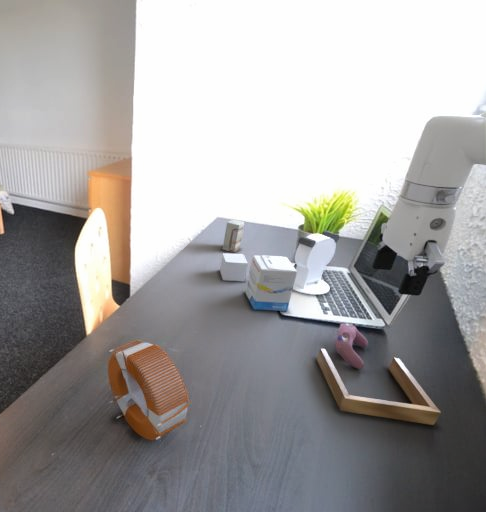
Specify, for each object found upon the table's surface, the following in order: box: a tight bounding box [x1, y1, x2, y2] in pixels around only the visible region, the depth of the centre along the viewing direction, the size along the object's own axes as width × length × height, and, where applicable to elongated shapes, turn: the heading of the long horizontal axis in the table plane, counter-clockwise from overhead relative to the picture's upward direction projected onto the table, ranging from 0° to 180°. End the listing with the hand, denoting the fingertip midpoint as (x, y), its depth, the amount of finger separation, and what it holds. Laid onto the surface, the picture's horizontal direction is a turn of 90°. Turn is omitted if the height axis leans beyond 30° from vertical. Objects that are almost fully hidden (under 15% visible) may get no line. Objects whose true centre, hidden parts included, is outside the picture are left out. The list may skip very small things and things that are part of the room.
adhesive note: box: [219, 252, 249, 282], centre depth 109 cm, size 6×6×6 cm
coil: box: [107, 340, 190, 441], centre depth 61 cm, size 7×15×15 cm, turn 29°
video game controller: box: [334, 323, 369, 370], centre depth 77 cm, size 10×5×7 cm, turn 141°
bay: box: [316, 348, 442, 426], centre depth 69 cm, size 14×14×3 cm
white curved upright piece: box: [292, 229, 340, 296], centre depth 101 cm, size 12×11×15 cm
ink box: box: [245, 254, 297, 312], centre depth 94 cm, size 9×8×12 cm
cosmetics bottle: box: [222, 218, 246, 254], centre depth 125 cm, size 5×4×10 cm
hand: (394, 280), depth 70 cm, fingers open, 9 cm apart
